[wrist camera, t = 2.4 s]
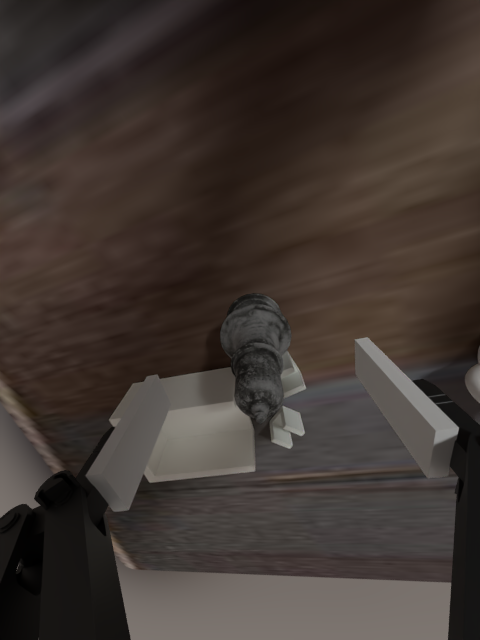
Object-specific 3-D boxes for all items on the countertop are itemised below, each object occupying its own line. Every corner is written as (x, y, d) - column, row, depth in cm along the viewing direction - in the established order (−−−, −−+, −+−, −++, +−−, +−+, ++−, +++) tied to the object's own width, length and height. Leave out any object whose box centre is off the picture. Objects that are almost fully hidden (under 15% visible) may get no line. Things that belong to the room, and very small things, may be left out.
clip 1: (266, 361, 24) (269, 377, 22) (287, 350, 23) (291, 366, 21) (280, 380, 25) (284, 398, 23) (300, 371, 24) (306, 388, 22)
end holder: (132, 383, 26) (108, 419, 21) (235, 366, 24) (233, 401, 20) (164, 441, 30) (149, 482, 25) (254, 430, 28) (255, 471, 24)
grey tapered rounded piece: (264, 278, 20) (285, 354, 9) (295, 327, 22) (341, 437, 11) (211, 310, 22) (176, 408, 11) (245, 354, 24) (243, 474, 13)
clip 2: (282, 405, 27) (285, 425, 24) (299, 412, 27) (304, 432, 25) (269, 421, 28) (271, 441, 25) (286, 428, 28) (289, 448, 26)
